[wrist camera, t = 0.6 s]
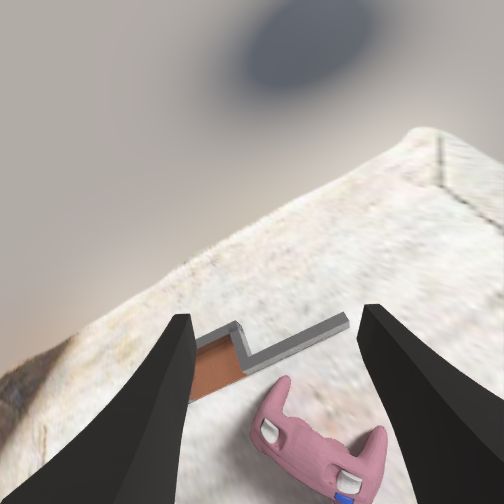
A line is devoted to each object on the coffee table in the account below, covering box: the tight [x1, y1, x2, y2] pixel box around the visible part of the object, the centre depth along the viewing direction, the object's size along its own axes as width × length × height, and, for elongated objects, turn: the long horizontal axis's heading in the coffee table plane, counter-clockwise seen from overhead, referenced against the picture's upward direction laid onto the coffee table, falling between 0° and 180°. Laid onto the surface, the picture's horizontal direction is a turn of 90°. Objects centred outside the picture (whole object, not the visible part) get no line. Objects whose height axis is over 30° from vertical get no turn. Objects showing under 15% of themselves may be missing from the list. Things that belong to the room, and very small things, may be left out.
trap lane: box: [188, 312, 349, 404], centre depth 23 cm, size 24×28×3 cm
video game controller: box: [250, 375, 388, 504], centre depth 22 cm, size 10×5×7 cm, turn 62°
